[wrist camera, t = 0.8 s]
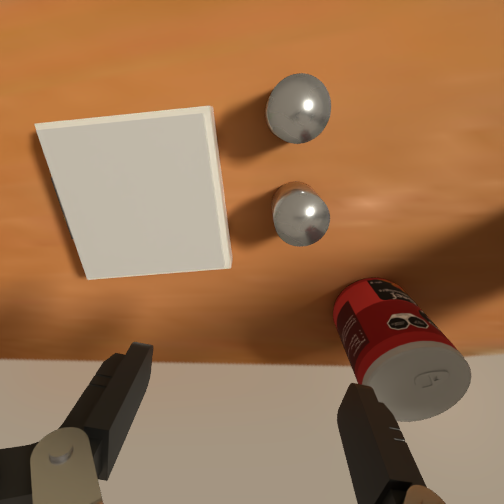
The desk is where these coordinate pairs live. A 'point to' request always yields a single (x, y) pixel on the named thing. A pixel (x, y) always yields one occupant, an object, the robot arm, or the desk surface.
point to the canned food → (399, 350)
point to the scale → (141, 191)
